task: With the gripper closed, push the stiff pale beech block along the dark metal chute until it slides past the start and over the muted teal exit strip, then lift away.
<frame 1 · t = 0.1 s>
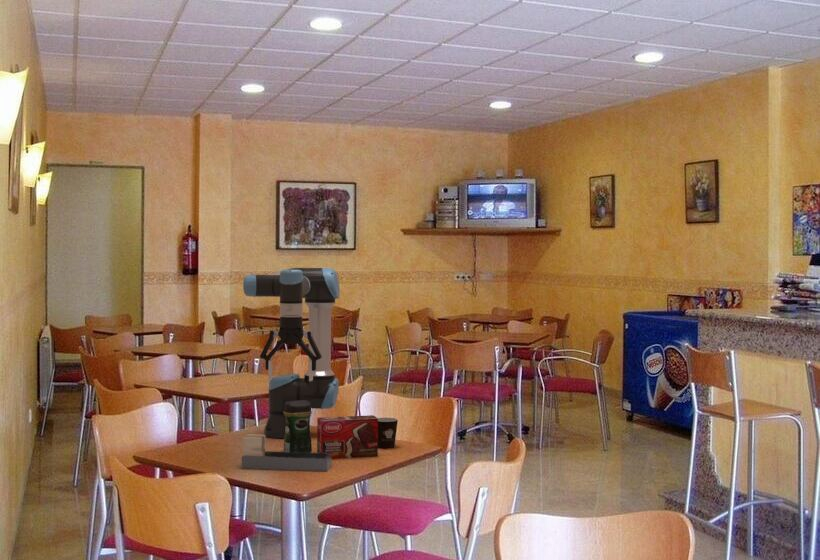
hand: (290, 380, 302), 28 cm above the table, tool pointing down, fingers open, 13 cm apart
ice cream box: (347, 456, 317), on the table
jammed block: (254, 448, 300), point 6 cm above the table, slide at 0.0 cm
coffee jar: (297, 453, 320), on the table
coffee mug: (381, 447, 333), on the table
chute: (287, 466, 299), on the table
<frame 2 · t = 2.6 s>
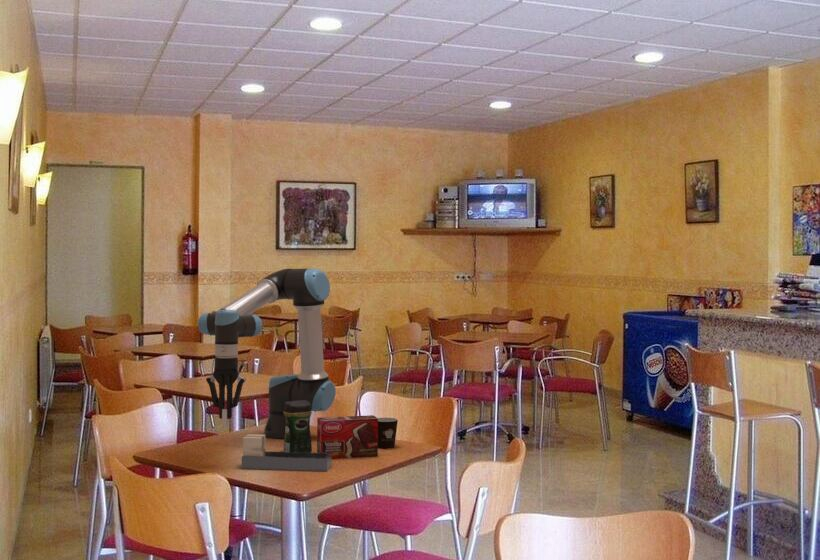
hand: (225, 428, 301), 12 cm above the table, tool pointing down, fingers closed
nothing on the table moved.
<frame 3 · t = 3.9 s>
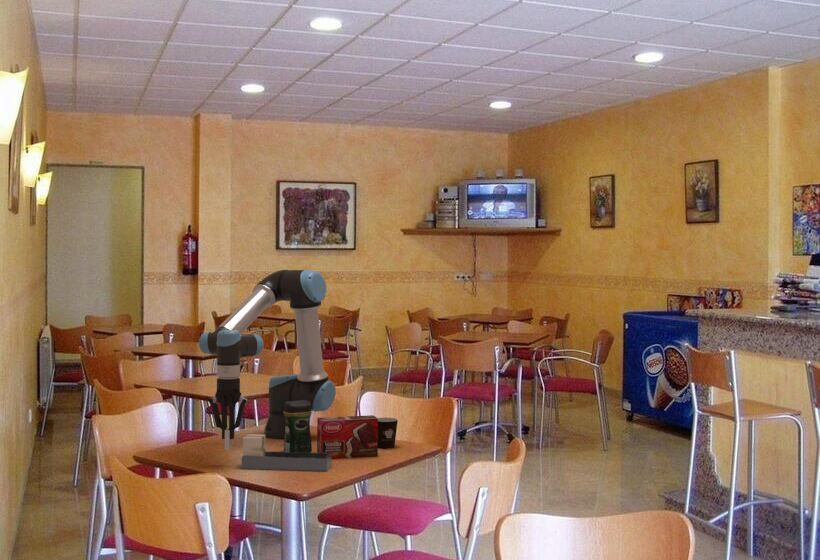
hand: (228, 448, 301), 5 cm above the table, tool pointing down, fingers closed
nothing on the table moved.
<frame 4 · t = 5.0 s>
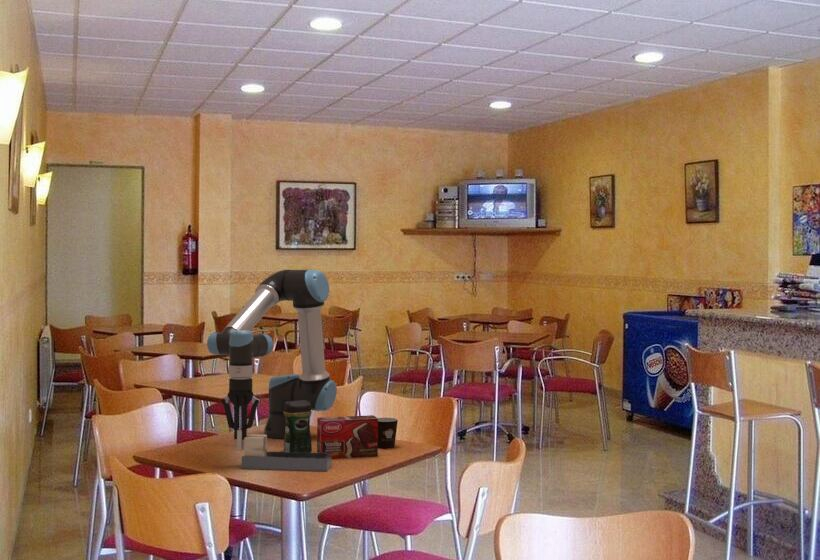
hand: (240, 449, 301), 5 cm above the table, tool pointing down, fingers closed
jammed block: (255, 448, 300), point 6 cm above the table, slide at 0.5 cm, touching gripper
everything else where it was.
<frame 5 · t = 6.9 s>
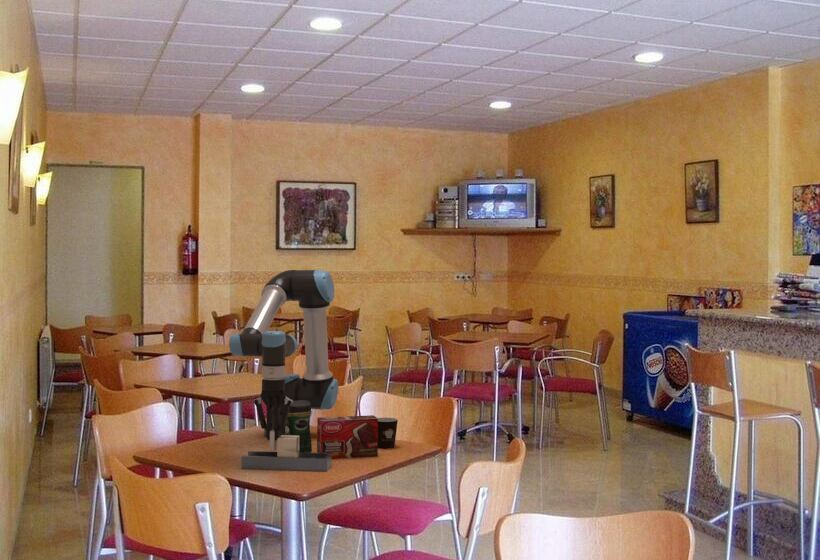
hand: (272, 450, 300), 5 cm above the table, tool pointing down, fingers closed
jammed block: (288, 449, 299), point 6 cm above the table, slide at 11.4 cm, touching gripper
everything else where it was.
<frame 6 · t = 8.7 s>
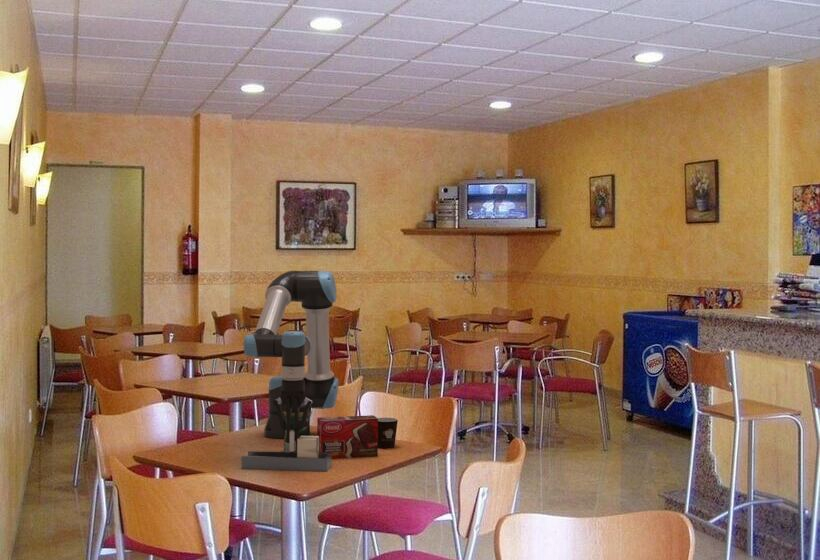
hand: (292, 450, 299), 5 cm above the table, tool pointing down, fingers closed
jammed block: (308, 449, 299), point 6 cm above the table, slide at 18.0 cm, touching gripper
everything else where it was.
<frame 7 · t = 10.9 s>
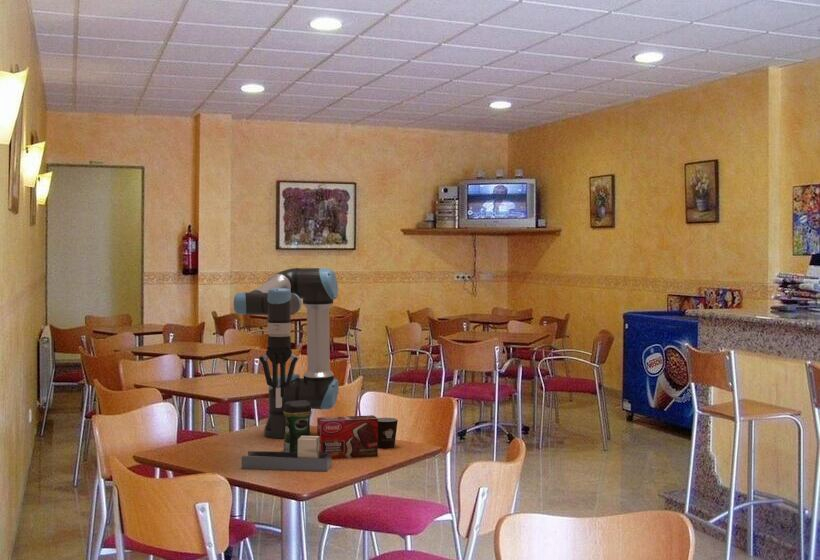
hand: (278, 407, 300), 19 cm above the table, tool pointing down, fingers closed
jammed block: (308, 449, 299), point 6 cm above the table, slide at 18.1 cm
everything else where it was.
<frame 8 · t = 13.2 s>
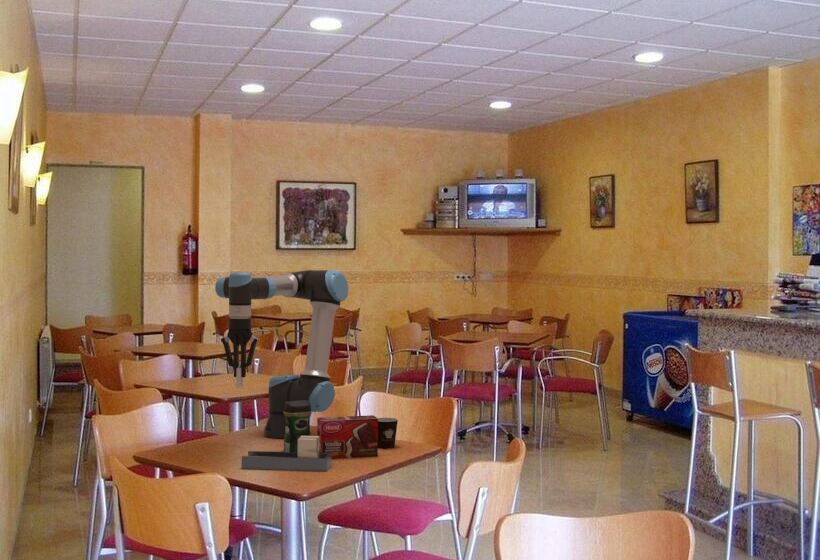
hand: (239, 386, 311), 24 cm above the table, tool pointing down, fingers closed
nothing on the table moved.
at the end: jammed block slide at 18.1 cm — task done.
